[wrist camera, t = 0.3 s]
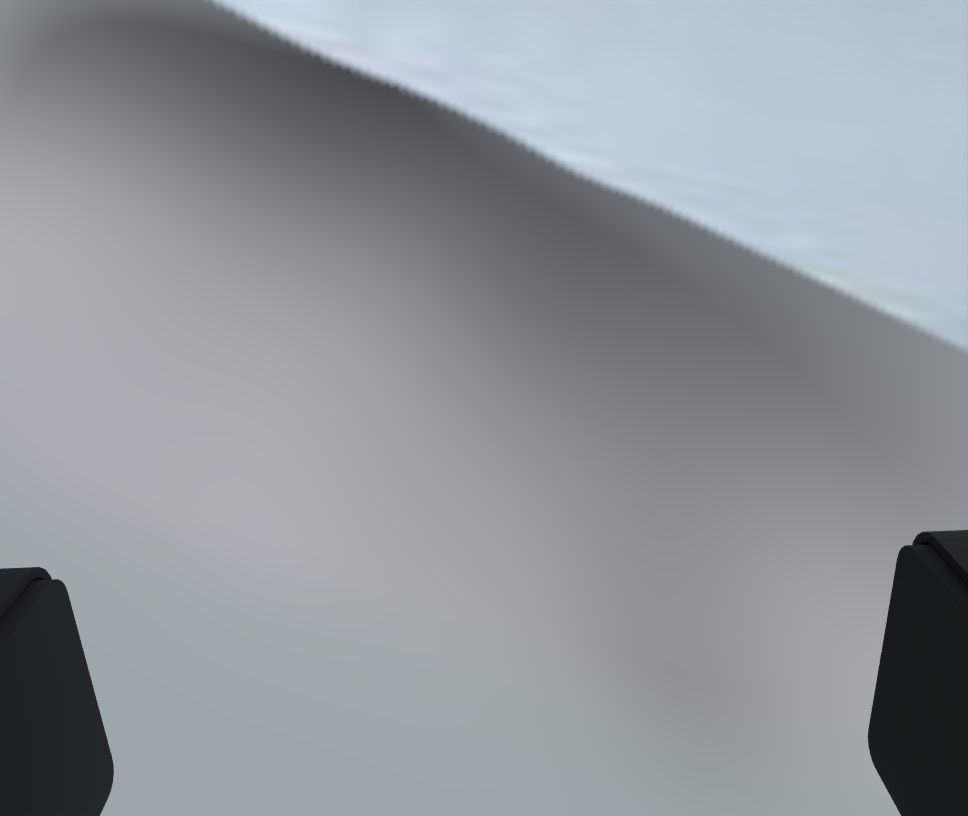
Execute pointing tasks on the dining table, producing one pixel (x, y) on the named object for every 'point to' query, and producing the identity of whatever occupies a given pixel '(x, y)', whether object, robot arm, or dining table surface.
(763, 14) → the dining table surface
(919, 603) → the robot arm
